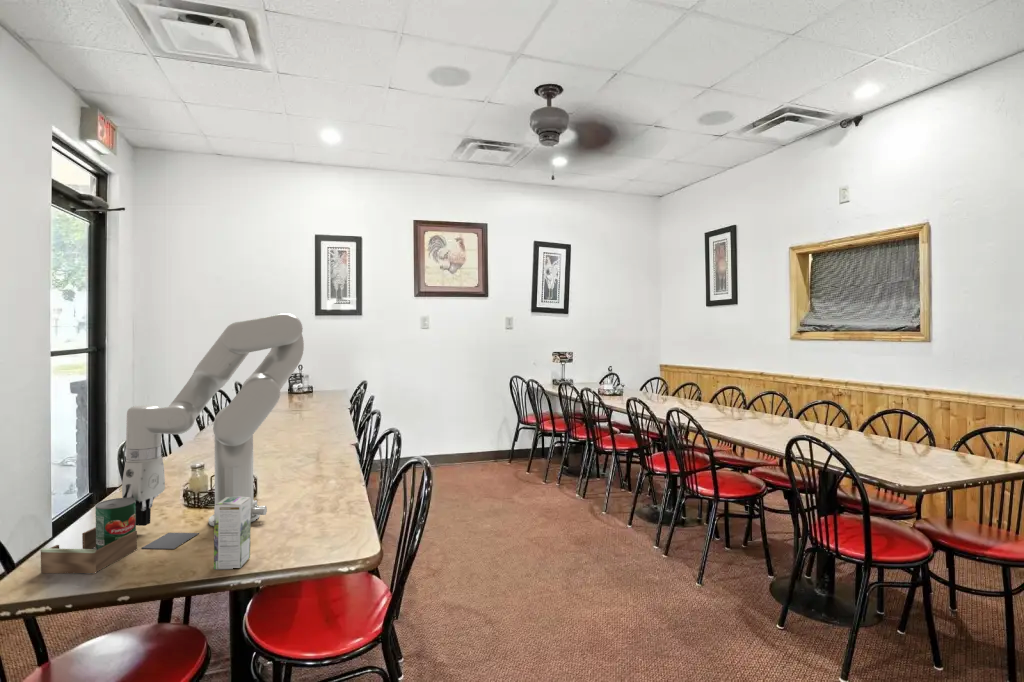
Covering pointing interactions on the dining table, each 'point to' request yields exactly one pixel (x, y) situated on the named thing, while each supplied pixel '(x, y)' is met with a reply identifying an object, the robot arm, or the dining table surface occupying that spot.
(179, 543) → the mats
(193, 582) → the dining table surface
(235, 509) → the syrup box
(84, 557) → the corral
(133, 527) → the canned tomato
